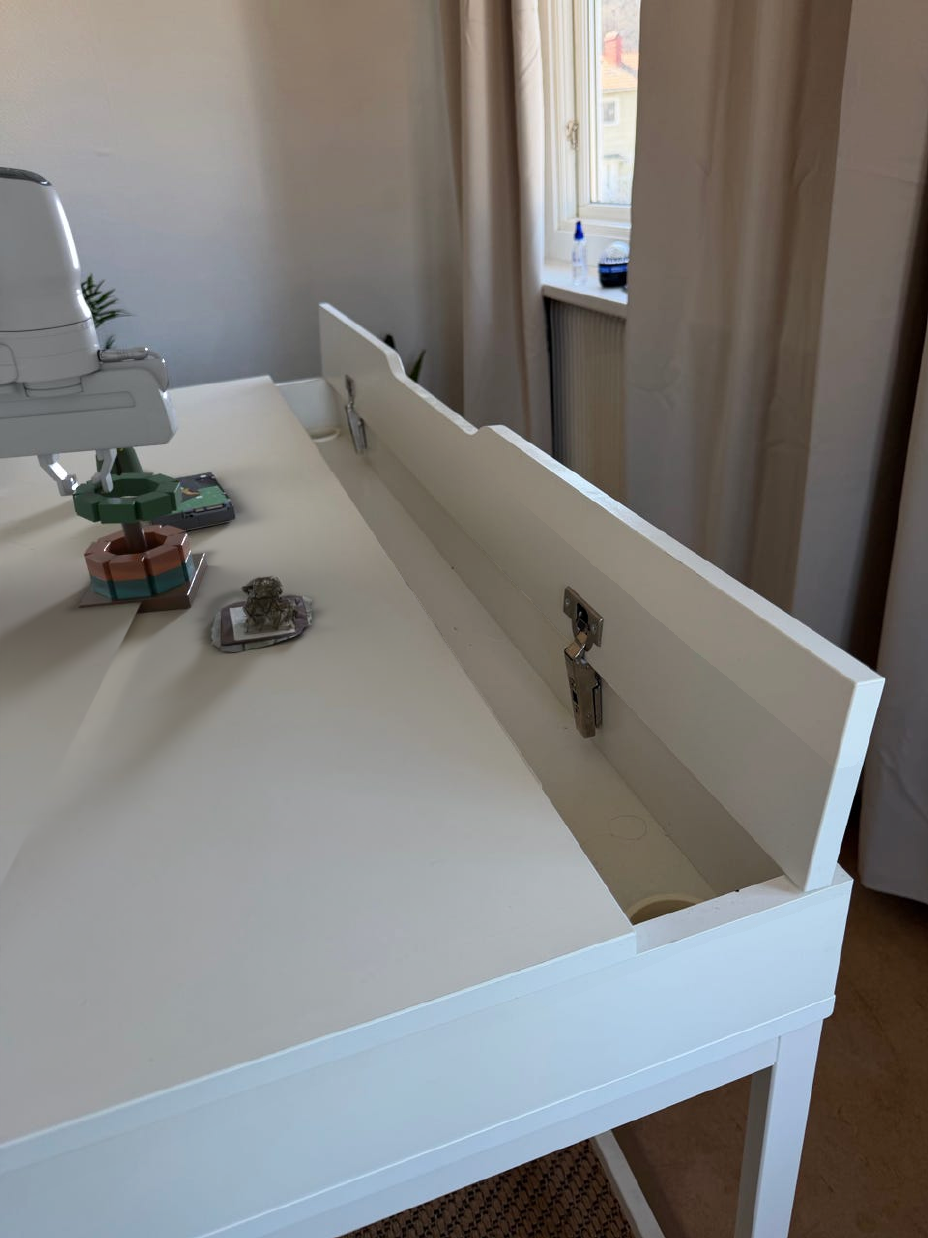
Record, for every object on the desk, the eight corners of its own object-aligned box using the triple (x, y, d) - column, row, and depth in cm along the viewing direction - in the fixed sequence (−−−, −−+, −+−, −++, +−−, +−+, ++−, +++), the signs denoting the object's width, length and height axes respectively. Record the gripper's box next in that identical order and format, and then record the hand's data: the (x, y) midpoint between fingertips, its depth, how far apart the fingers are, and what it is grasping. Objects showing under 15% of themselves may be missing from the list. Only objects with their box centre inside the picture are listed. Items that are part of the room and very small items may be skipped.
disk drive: (138, 505, 127) (154, 538, 114) (133, 485, 126) (149, 517, 113) (215, 489, 130) (238, 520, 118) (211, 470, 129) (234, 499, 117)
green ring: (65, 524, 92) (62, 505, 91) (92, 491, 101) (89, 472, 100) (170, 522, 93) (168, 503, 92) (188, 489, 102) (185, 471, 101)
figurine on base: (275, 573, 100) (329, 557, 92) (291, 632, 100) (347, 622, 92) (170, 599, 92) (219, 585, 84) (188, 663, 93) (239, 655, 84)
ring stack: (82, 618, 96) (58, 536, 92) (108, 574, 106) (88, 498, 102) (191, 607, 96) (172, 525, 92) (207, 565, 106) (191, 489, 102)
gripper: (168, 338, 93) (195, 473, 99) (-44, 356, 92) (-3, 491, 98) (155, 351, 87) (185, 493, 93) (-71, 370, 86) (-26, 512, 92)
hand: (87, 492), depth 96 cm, fingers closed on green ring, 2 cm apart
